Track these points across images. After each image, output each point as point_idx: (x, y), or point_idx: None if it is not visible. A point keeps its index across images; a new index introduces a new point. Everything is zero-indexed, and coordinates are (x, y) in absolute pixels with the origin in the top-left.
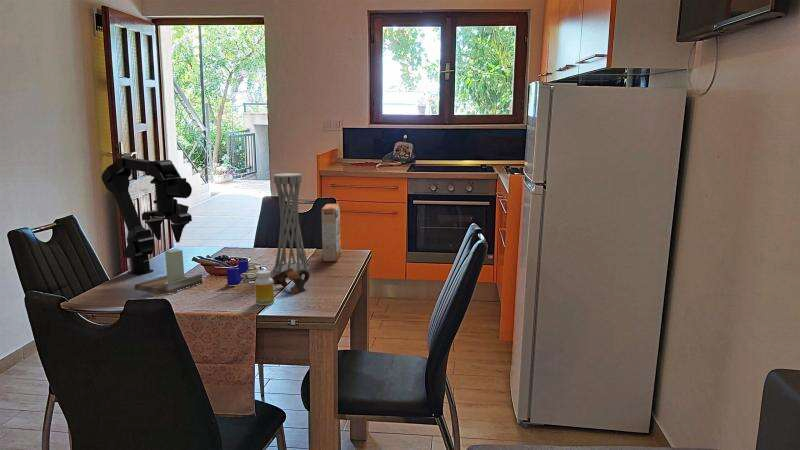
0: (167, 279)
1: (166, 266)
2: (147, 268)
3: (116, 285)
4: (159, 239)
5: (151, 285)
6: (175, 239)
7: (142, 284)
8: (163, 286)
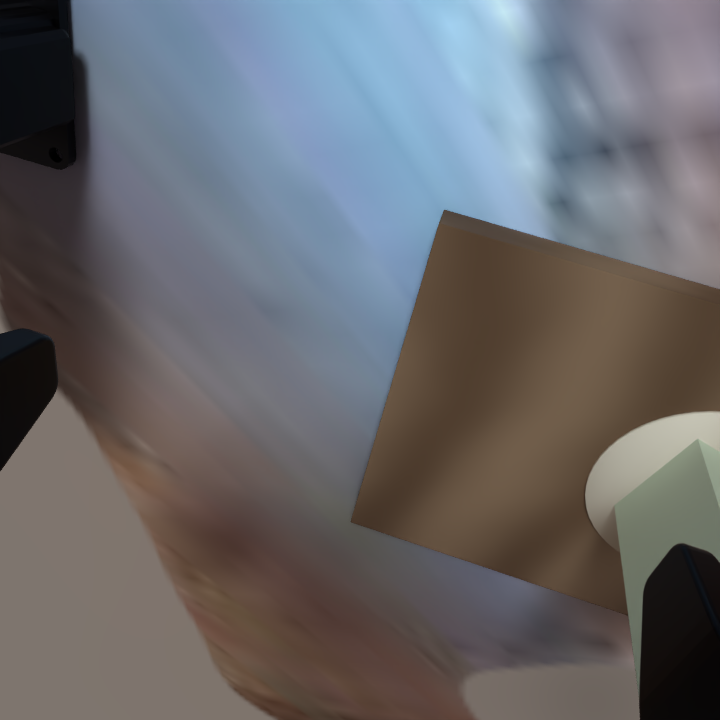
0: (619, 532)
1: (637, 650)
2: (52, 78)
3: (176, 447)
4: (45, 373)
5: (497, 541)
6: (654, 683)
7: (406, 520)
8: (619, 566)
